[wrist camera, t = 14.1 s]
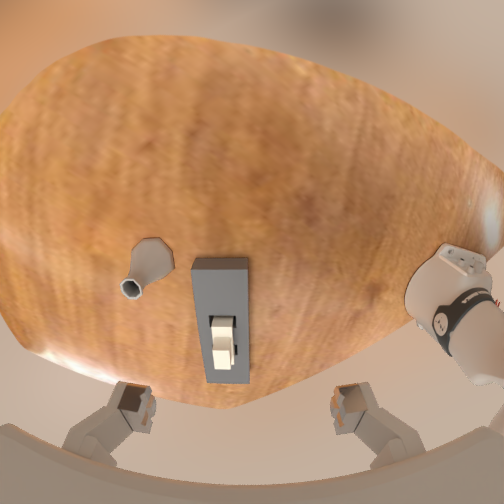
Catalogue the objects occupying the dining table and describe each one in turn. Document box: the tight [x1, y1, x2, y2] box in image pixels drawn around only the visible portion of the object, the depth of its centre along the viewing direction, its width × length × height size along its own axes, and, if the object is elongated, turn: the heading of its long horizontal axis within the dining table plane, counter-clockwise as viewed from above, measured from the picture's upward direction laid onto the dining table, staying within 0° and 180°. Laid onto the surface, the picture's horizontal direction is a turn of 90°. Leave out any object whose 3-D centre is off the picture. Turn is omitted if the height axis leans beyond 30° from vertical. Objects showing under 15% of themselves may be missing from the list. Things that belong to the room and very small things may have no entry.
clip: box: [211, 315, 235, 370], centre depth 42 cm, size 3×8×10 cm, turn 0°
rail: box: [191, 258, 250, 384], centre depth 45 cm, size 8×24×4 cm, turn 0°
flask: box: [120, 238, 175, 299], centre depth 37 cm, size 7×7×10 cm
